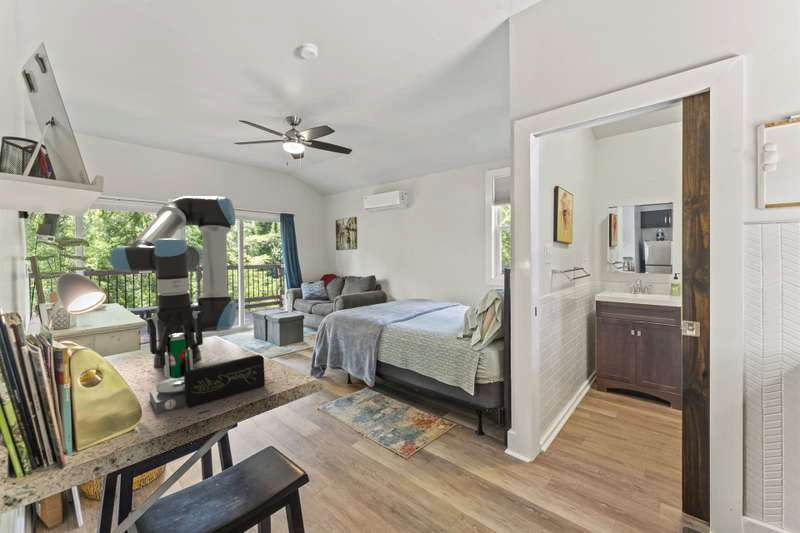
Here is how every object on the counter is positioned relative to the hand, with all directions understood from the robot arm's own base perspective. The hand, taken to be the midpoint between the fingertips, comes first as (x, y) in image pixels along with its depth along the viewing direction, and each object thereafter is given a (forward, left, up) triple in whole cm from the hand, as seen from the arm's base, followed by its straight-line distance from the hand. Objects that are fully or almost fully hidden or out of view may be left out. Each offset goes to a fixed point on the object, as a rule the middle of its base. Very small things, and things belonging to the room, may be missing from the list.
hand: (179, 372), depth 98 cm
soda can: (0, 0, -1) cm, 1 cm away
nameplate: (+8, +10, -8) cm, 15 cm away
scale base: (0, 0, -8) cm, 8 cm away
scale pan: (0, 0, -4) cm, 4 cm away
